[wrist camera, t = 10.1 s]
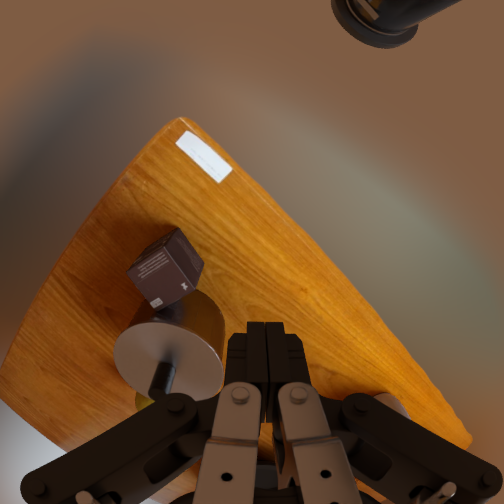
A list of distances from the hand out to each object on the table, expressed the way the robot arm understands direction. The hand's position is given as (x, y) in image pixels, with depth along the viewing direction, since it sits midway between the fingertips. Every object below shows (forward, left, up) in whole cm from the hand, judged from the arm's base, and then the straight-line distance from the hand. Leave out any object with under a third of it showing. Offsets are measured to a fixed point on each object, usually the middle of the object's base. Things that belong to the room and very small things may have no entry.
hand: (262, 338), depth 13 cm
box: (+7, -10, -26) cm, 29 cm away
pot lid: (+17, -11, -17) cm, 26 cm away
